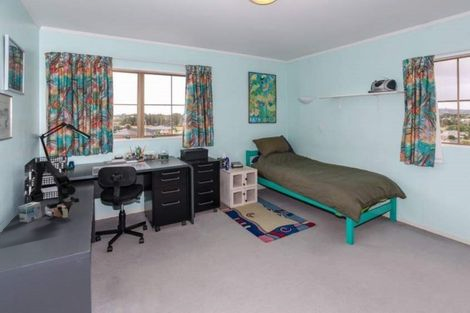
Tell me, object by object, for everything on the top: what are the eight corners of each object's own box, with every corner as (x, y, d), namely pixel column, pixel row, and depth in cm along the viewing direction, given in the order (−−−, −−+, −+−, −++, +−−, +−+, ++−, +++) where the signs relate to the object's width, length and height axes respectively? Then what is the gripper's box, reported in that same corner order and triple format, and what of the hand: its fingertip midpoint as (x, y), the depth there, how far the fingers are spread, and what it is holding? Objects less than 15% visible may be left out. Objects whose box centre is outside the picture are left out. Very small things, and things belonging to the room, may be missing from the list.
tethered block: (54, 215, 190) (53, 207, 189) (63, 213, 195) (62, 205, 194) (61, 218, 184) (60, 210, 183) (70, 216, 189) (69, 208, 188)
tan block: (45, 213, 193) (44, 207, 192) (61, 209, 202) (60, 203, 201) (50, 216, 189) (49, 209, 188) (65, 211, 198) (65, 205, 197)
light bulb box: (28, 222, 178) (26, 207, 176) (19, 221, 179) (17, 206, 177) (42, 216, 188) (40, 202, 186) (34, 216, 189) (32, 201, 188)
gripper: (52, 198, 172) (55, 221, 175) (82, 191, 188) (84, 212, 190) (45, 195, 179) (47, 217, 181) (74, 189, 194) (76, 209, 196)
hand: (64, 214), depth 187 cm, fingers open, 3 cm apart
